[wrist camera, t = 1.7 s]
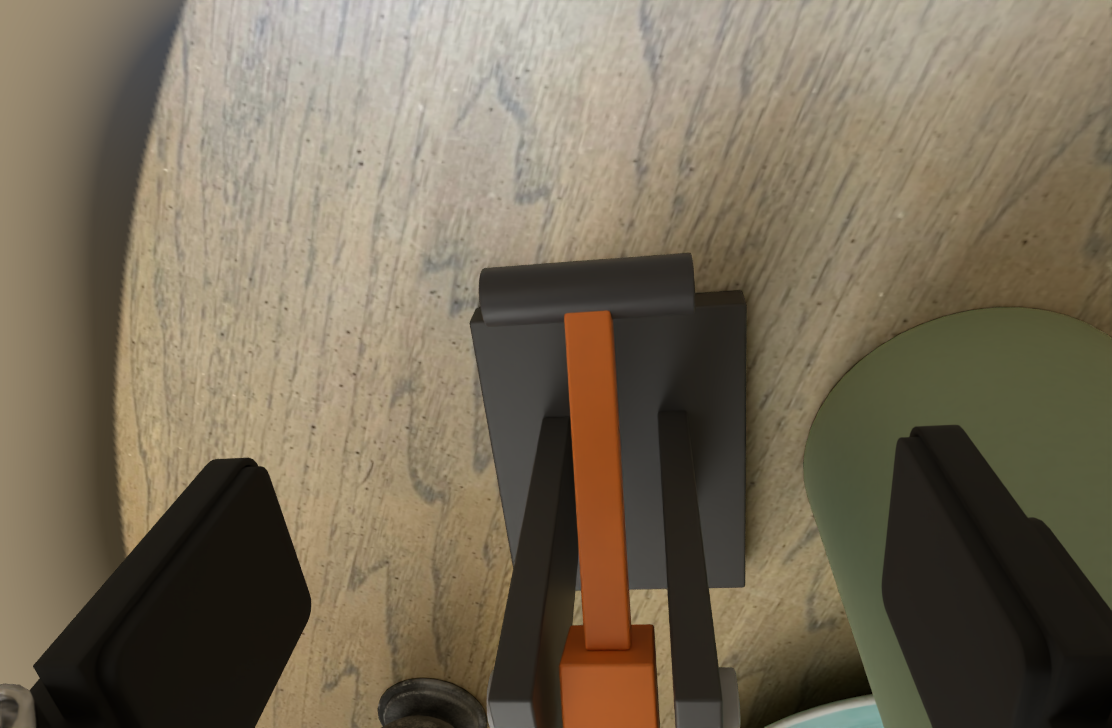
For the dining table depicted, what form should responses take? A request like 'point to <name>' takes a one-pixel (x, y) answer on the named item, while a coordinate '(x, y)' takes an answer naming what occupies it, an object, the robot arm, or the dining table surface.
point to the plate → (836, 715)
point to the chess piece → (429, 706)
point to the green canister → (995, 429)
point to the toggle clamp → (648, 489)
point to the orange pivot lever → (597, 463)
